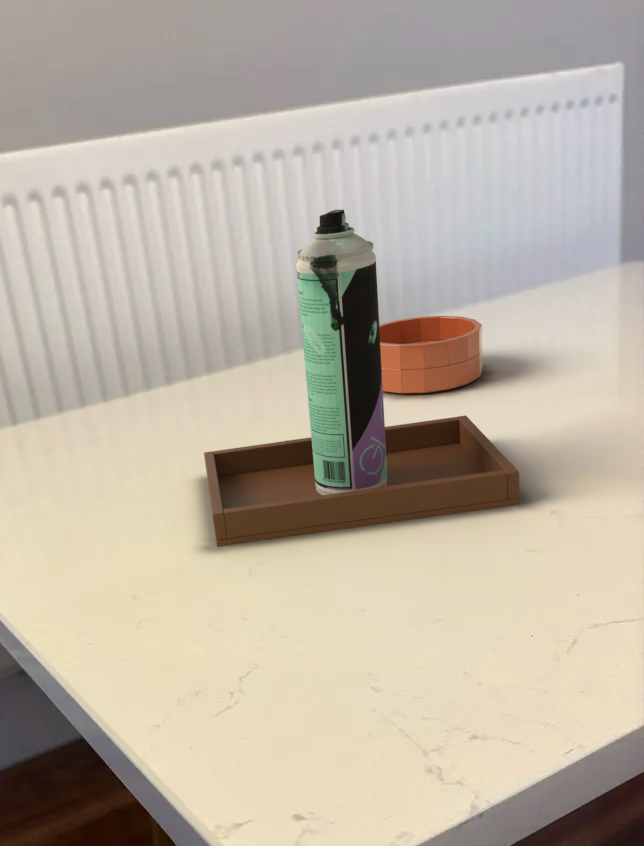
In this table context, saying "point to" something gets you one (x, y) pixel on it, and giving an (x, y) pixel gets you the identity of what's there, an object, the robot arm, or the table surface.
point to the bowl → (430, 353)
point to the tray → (399, 501)
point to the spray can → (342, 357)
